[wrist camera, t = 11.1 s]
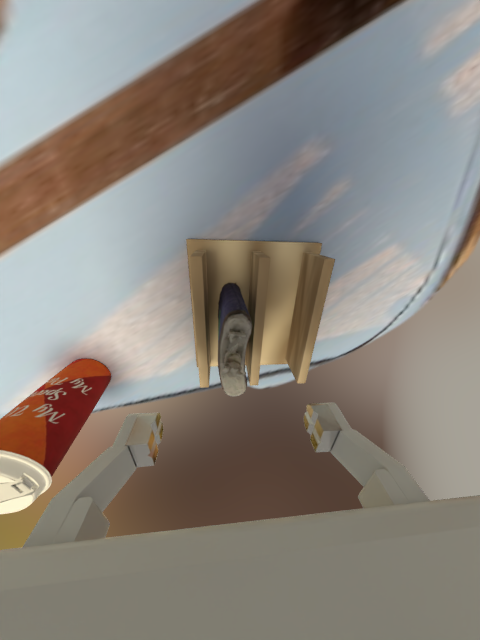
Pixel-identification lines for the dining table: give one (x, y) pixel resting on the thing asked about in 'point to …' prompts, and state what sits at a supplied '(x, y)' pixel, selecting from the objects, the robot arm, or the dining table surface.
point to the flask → (232, 339)
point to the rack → (260, 300)
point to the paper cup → (46, 431)
